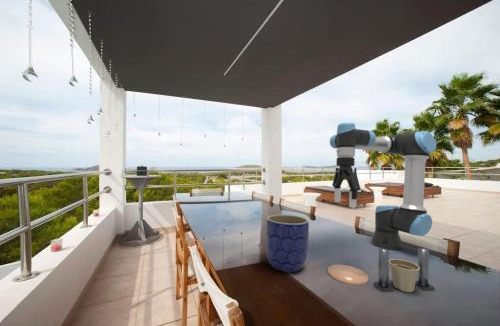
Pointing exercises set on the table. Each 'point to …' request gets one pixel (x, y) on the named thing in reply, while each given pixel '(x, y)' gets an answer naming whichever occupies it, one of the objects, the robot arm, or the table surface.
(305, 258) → the planter
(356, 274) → the saucer
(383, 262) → the post
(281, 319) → the table surface
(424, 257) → the post
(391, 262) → the flower pot
